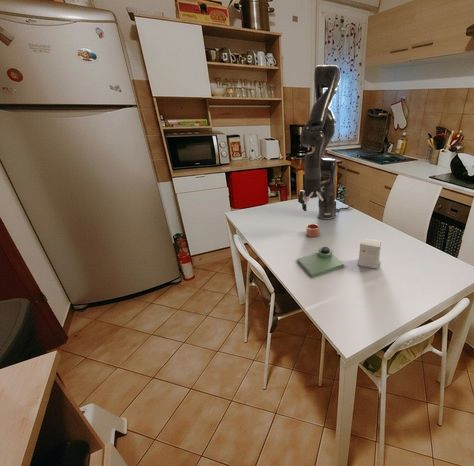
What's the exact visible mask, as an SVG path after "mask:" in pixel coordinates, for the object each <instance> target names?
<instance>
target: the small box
mask: <svg viewBox="0 0 474 466" xmlns="http://www.w3.org/2000/svg"><path fill="white" fill-rule="evenodd" d="M381 249H382V240H378V239H372V238H366V237H362V239H361V241H360V243H359V253H358V266H361V267H367V268H372V269H377V270H378V267H379V263H380V257H381Z"/></svg>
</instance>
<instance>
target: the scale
mask: <svg viewBox="0 0 474 466" xmlns="http://www.w3.org/2000/svg"><path fill="white" fill-rule="evenodd" d="M322 248H323V247H321V248H319V249H318V250H317V252H316V253H311V254H308V255H305V256H302V257H298V258H297V262H298V263H299V265H300V266H301V267H302V269H304V270H305V271H306V273H307V274H309V276H310V277H311V278H314V277H319V276H320V275H323V274H326V273H329V272H332V271H335V270H338V269H341V268H343V267H345V266H344V265H345V264H344V262H342V261H341V260H340V259H339V258H338V257H336V256H335V254H333V250H332V249H331V248H329V253H327V254H323V253H322Z"/></svg>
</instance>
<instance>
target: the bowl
mask: <svg viewBox="0 0 474 466" xmlns="http://www.w3.org/2000/svg"><path fill="white" fill-rule="evenodd" d="M305 230H306V235H307V237H309V238H317V237H319V234H320V225H318V224H316V223H309V224H307V225H306V228H305Z"/></svg>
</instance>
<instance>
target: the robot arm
mask: <svg viewBox="0 0 474 466" xmlns="http://www.w3.org/2000/svg"><path fill="white" fill-rule="evenodd" d="M313 77H314V78H313V81H314V93H315V102H314V104H313V105H312V107H311V109H310V113H309V114H310V115H309V118H308V121H307V122H306V124H305V126H304V127H303V129H302V130H301V132H300V135H299V142H300V145H301V146H302V147H305V148H314V151H310V152H307V153H305V154H304V172H303V174H304V175H303V176H304V177H303V178H304V179H303V180H304V189H303V190H301V189H298V191H297V196H298V197H297V202H298V203H299V204H301V208H302V210H303V212H307V211H308V210H307V203H308V201H310V199H313V198H315V199H316V198H317V199H318V203H317V204H318V205H317V206H318V218H319V219H322V220H332V219H334V218H336V217H337V213H339V212H340V211H341V210H348V209H350V208H351V207H354V205H353V204H350V205H349V206H348V207H340V208H337V200H336V185H337V184H336V182H337V181H336V180H337V169H338V166H337V165H338V162H337V159H332V158H324V154H325V151H326V149H327V148H328V145H329V144H330V142H331V141H332V139H333V138H334V135H335V132H336V129H335V127H336V119H335V116H334V114H333V112H332V110H331V108H330V106H331V104H332V102H333V99H334V97H335V95H336V93H337V89H338V88H339V84H340V80H341V70H340V68H339V66H338V65H336V64H318V65H316V66H315V69H314V74H313ZM324 89H325V90H324ZM322 177H329V178H328V179H326V180H323V181H322V180H321V179H322Z"/></svg>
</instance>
